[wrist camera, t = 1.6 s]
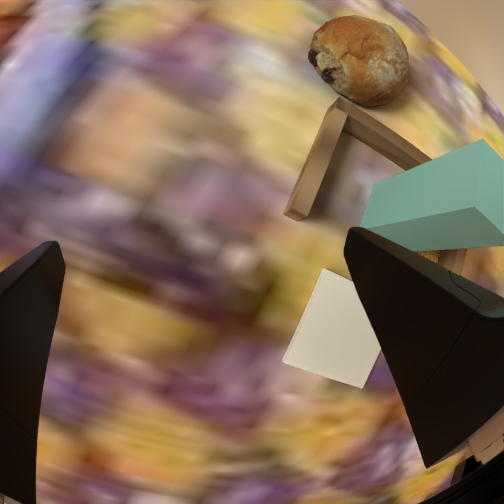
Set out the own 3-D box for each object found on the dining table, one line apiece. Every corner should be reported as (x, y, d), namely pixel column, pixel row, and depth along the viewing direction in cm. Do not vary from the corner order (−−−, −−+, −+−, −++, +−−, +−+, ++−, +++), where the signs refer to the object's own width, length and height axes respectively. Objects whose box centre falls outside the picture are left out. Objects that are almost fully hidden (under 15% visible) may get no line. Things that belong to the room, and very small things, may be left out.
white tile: (359, 386, 25) (362, 388, 25) (281, 360, 24) (283, 362, 24) (395, 304, 26) (398, 304, 26) (322, 268, 25) (325, 268, 24)
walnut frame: (436, 296, 27) (453, 298, 25) (282, 214, 25) (292, 208, 22) (461, 201, 28) (476, 197, 26) (327, 109, 26) (339, 96, 23)
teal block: (396, 252, 26) (514, 245, 14) (358, 230, 26) (474, 206, 13) (410, 208, 27) (521, 181, 14) (373, 184, 26) (482, 138, 13)
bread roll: (367, 129, 30) (432, 113, 24) (297, 88, 25) (372, 54, 18) (361, 59, 31) (417, 38, 24) (298, 15, 25) (359, -20, 18)
